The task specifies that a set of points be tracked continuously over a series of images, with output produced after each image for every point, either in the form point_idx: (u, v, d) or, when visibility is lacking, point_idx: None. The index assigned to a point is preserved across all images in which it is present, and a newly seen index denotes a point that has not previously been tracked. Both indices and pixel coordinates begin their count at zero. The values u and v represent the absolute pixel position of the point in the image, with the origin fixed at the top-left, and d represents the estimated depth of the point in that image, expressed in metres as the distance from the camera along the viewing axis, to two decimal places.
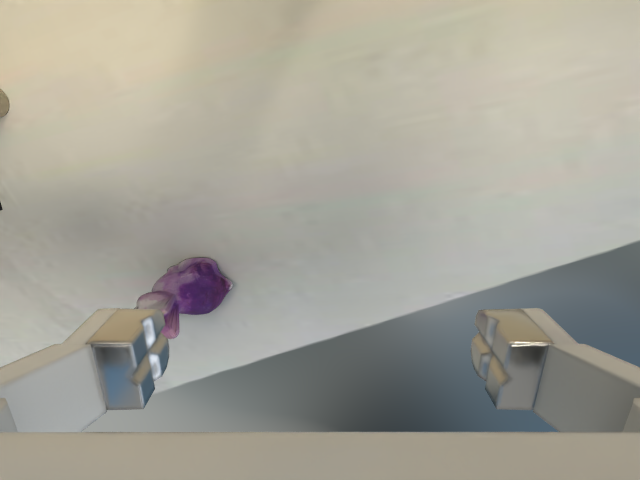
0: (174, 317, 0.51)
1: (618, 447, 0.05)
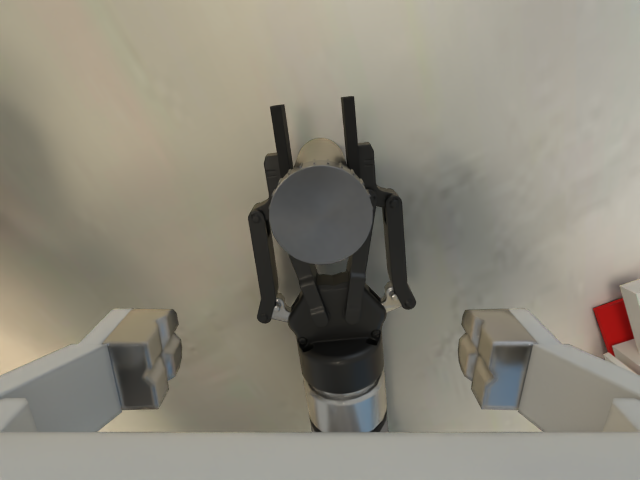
0: None
1: (618, 447, 0.05)
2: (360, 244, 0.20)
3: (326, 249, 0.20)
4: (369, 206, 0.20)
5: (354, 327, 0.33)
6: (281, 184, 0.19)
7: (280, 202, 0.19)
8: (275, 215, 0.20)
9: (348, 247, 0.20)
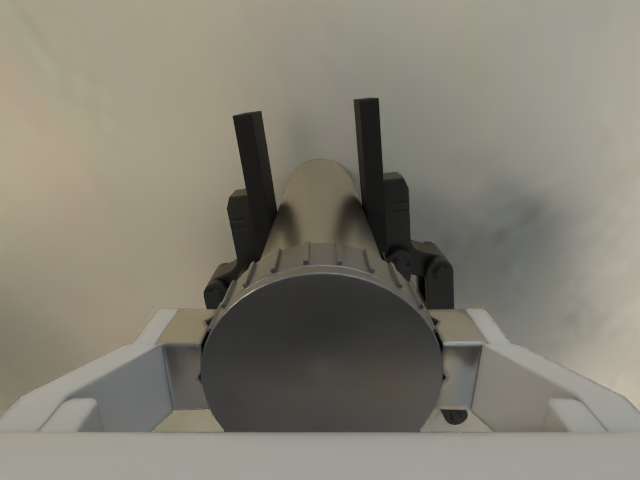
0: None
1: (618, 447, 0.05)
2: None
3: None
4: (437, 360, 0.08)
5: None
6: (226, 314, 0.08)
7: (225, 352, 0.08)
8: (215, 378, 0.08)
9: None
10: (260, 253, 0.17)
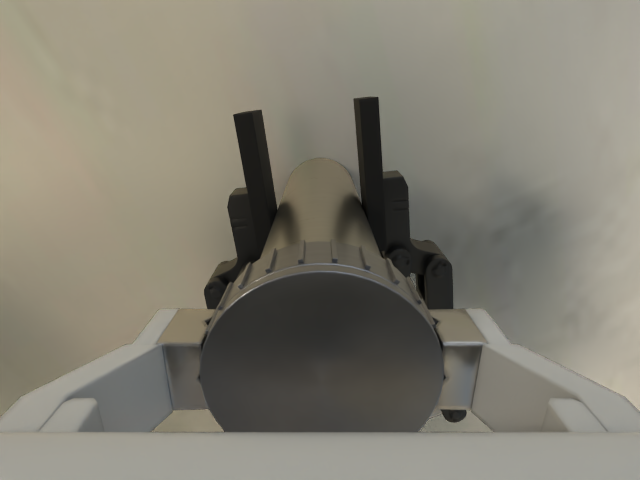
0: None
1: (618, 447, 0.05)
2: (392, 294, 0.08)
3: (403, 368, 0.08)
4: (287, 281, 0.08)
5: None
6: None
7: None
8: None
9: (400, 321, 0.08)
10: (261, 251, 0.18)
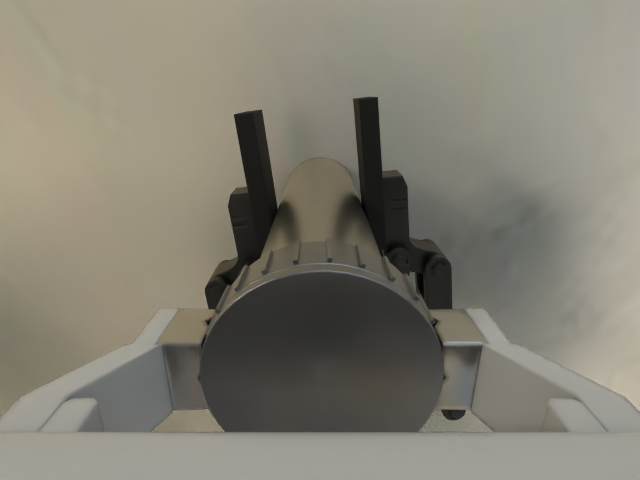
0: None
1: (618, 447, 0.05)
2: (215, 330, 0.08)
3: (300, 312, 0.08)
4: (214, 409, 0.09)
5: None
6: None
7: (415, 404, 0.09)
8: (428, 378, 0.08)
9: (244, 320, 0.08)
10: (261, 250, 0.18)
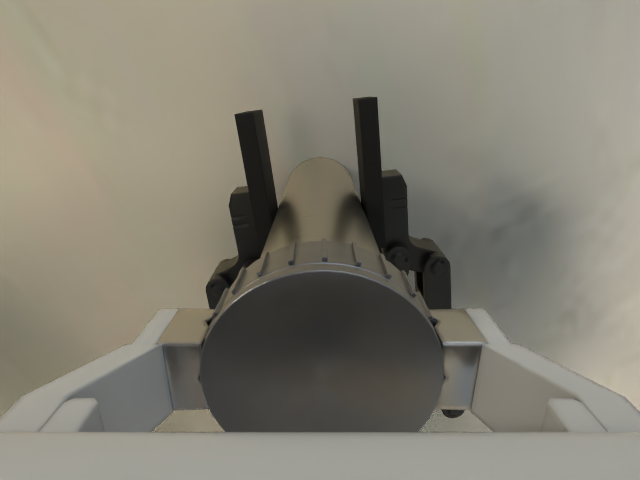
0: None
1: (618, 447, 0.05)
2: None
3: (244, 399, 0.09)
4: None
5: None
6: (396, 293, 0.08)
7: (349, 294, 0.08)
8: (313, 285, 0.08)
9: None
10: (261, 249, 0.18)
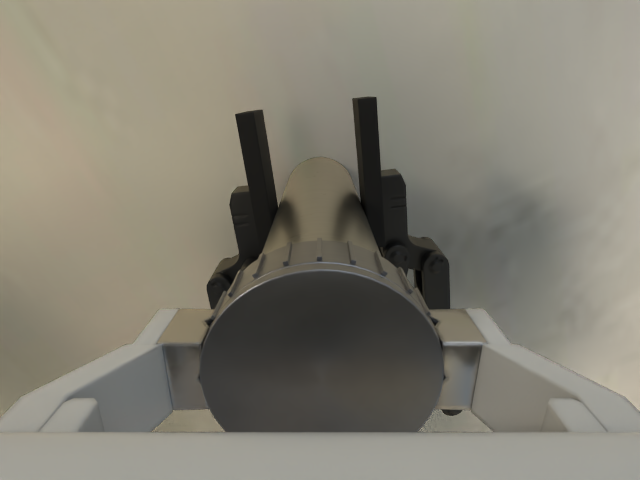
0: None
1: (618, 447, 0.05)
2: (422, 421, 0.09)
3: None
4: (434, 343, 0.08)
5: None
6: (214, 325, 0.08)
7: (221, 363, 0.08)
8: (216, 390, 0.08)
9: (395, 430, 0.09)
10: (262, 248, 0.18)
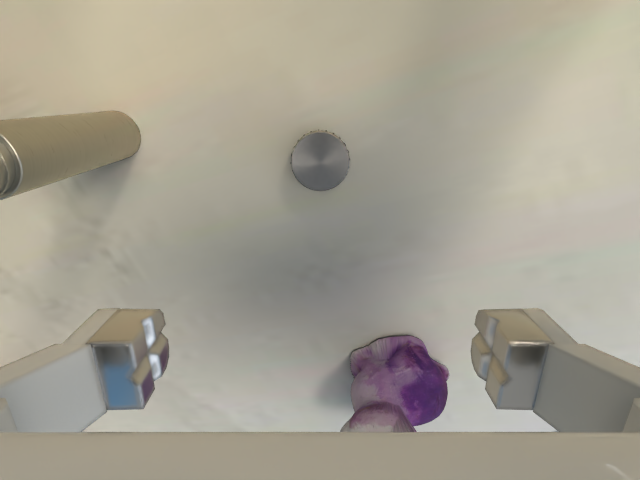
0: None
1: (618, 447, 0.05)
2: (332, 136, 0.34)
3: (338, 155, 0.35)
4: (308, 136, 0.34)
5: None
6: (306, 186, 0.36)
7: (316, 185, 0.36)
8: (324, 187, 0.36)
9: (335, 142, 0.35)
10: None
